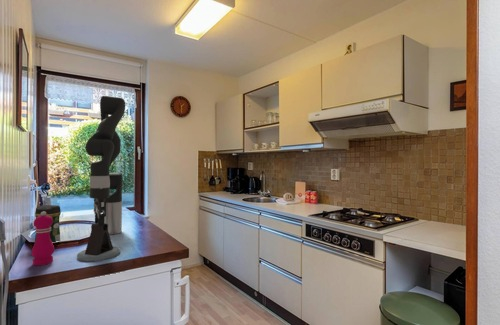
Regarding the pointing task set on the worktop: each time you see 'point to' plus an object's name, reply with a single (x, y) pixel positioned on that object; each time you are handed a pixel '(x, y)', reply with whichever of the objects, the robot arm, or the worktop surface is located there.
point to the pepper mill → (43, 240)
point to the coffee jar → (55, 214)
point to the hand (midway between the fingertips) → (99, 224)
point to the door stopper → (99, 240)
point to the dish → (92, 258)
